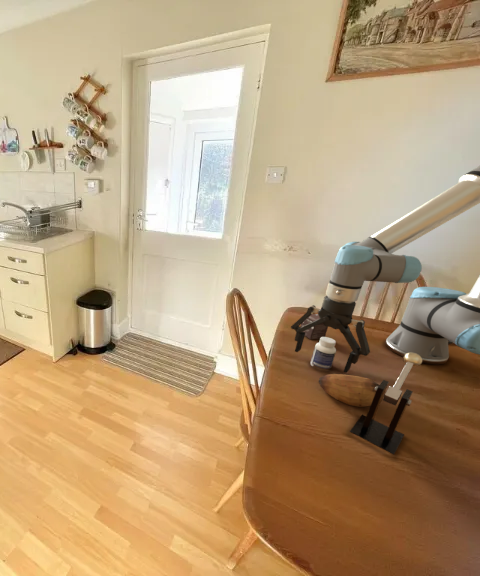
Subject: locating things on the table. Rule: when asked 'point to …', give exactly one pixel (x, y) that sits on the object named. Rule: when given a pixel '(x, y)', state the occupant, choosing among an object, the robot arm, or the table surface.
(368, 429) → the black lever stand
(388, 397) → the hinged lever
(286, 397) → the table surface
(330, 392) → the potato
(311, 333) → the box
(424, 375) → the table surface
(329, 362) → the pill bottle
